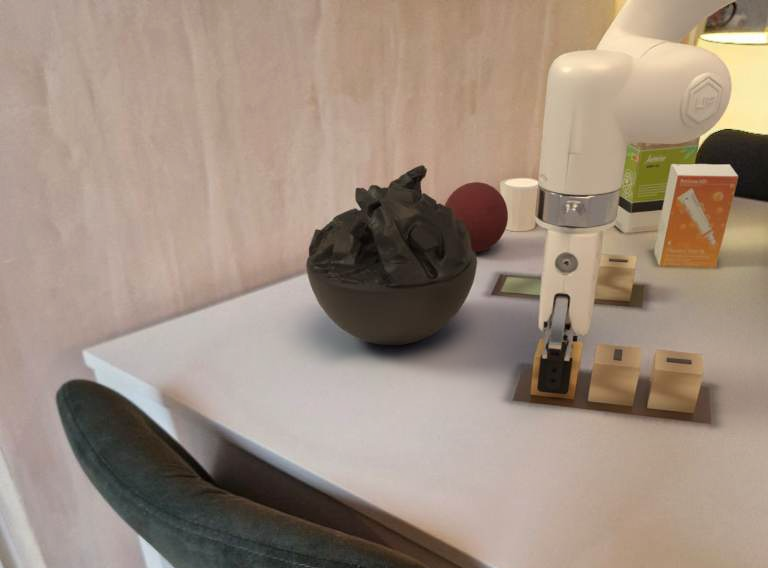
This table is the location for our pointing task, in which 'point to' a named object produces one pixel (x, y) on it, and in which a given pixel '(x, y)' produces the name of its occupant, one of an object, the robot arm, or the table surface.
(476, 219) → the decorative ball
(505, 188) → the shot glass
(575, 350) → the orange wooden cube
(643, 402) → the front word board
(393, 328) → the coal bowl
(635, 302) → the board
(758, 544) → the table surface
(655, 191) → the tea box
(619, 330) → the table surface
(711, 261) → the small box
